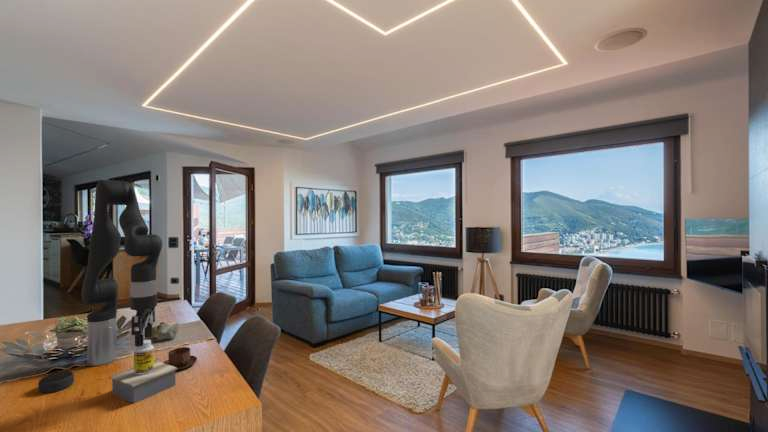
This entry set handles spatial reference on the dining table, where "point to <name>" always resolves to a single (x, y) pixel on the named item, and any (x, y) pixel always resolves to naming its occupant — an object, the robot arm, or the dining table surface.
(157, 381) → the plinth
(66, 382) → the smart speaker
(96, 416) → the dining table surface
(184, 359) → the cup and saucer
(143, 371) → the supplement bottle
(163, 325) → the ceramic sculpture
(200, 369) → the dining table surface
